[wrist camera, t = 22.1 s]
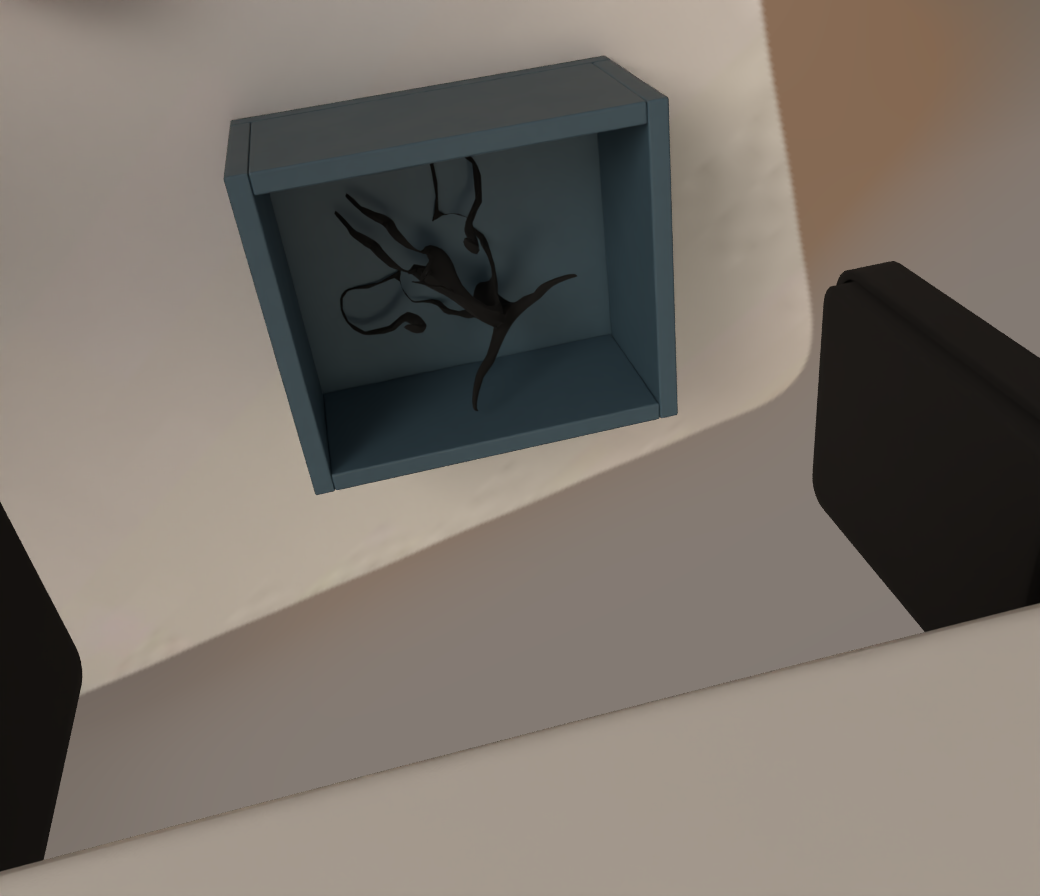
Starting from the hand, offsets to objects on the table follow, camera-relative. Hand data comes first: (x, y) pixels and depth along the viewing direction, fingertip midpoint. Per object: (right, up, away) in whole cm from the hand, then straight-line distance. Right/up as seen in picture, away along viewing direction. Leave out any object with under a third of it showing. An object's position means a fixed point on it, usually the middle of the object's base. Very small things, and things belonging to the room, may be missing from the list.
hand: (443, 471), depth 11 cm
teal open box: (-2, +8, +26) cm, 28 cm away
